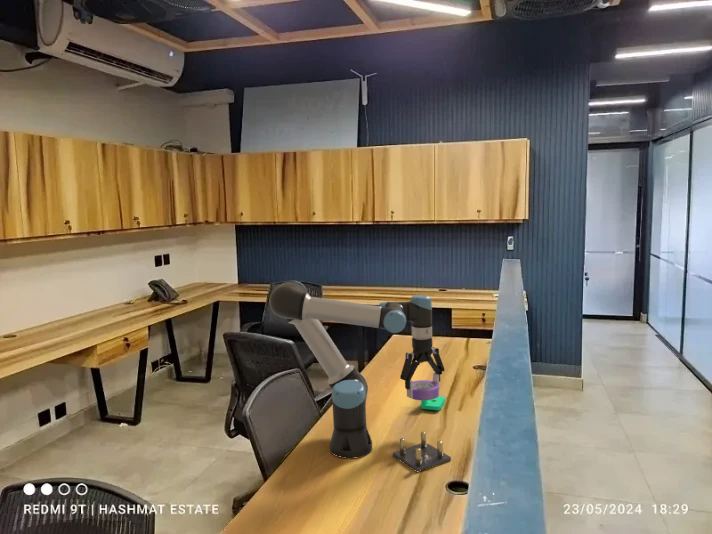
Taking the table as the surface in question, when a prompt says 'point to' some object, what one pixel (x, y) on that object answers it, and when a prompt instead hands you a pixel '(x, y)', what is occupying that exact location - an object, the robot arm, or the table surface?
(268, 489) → the table surface
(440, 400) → the camera mount
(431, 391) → the masking tape
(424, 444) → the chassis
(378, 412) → the table surface
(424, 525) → the table surface
